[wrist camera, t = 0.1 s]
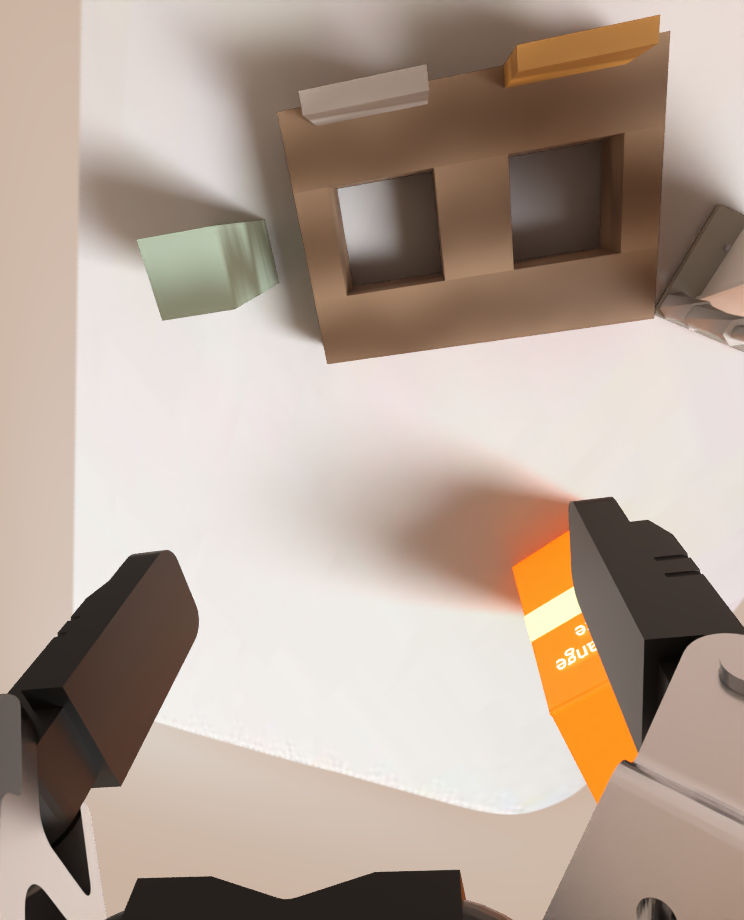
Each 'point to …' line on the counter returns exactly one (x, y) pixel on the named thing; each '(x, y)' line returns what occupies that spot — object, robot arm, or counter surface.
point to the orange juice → (572, 666)
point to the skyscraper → (711, 282)
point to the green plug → (209, 268)
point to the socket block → (486, 190)
